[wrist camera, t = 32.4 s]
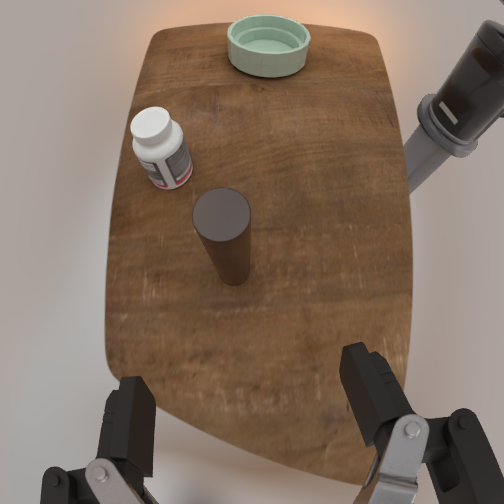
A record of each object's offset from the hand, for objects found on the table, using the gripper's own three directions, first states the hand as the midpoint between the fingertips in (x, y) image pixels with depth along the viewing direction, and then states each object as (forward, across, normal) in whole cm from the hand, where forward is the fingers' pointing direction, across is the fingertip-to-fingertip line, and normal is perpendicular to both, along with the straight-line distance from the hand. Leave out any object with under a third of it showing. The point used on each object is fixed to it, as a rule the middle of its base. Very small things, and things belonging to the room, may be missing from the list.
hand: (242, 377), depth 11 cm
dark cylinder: (+19, 0, +8) cm, 21 cm away
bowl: (+42, -10, -15) cm, 46 cm away
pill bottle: (+29, +6, -1) cm, 29 cm away
